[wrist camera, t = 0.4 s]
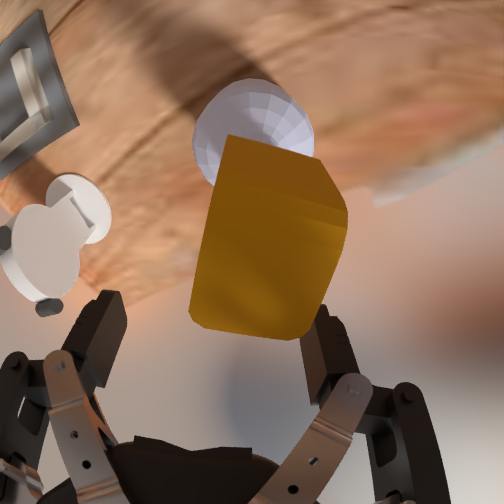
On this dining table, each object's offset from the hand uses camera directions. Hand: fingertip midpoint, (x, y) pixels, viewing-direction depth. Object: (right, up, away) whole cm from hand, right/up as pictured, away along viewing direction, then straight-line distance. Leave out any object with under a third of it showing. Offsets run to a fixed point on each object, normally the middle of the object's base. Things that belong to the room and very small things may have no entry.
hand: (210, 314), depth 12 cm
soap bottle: (+2, +17, +16) cm, 23 cm away
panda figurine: (-23, +9, +22) cm, 33 cm away
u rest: (-29, +23, +10) cm, 38 cm away
